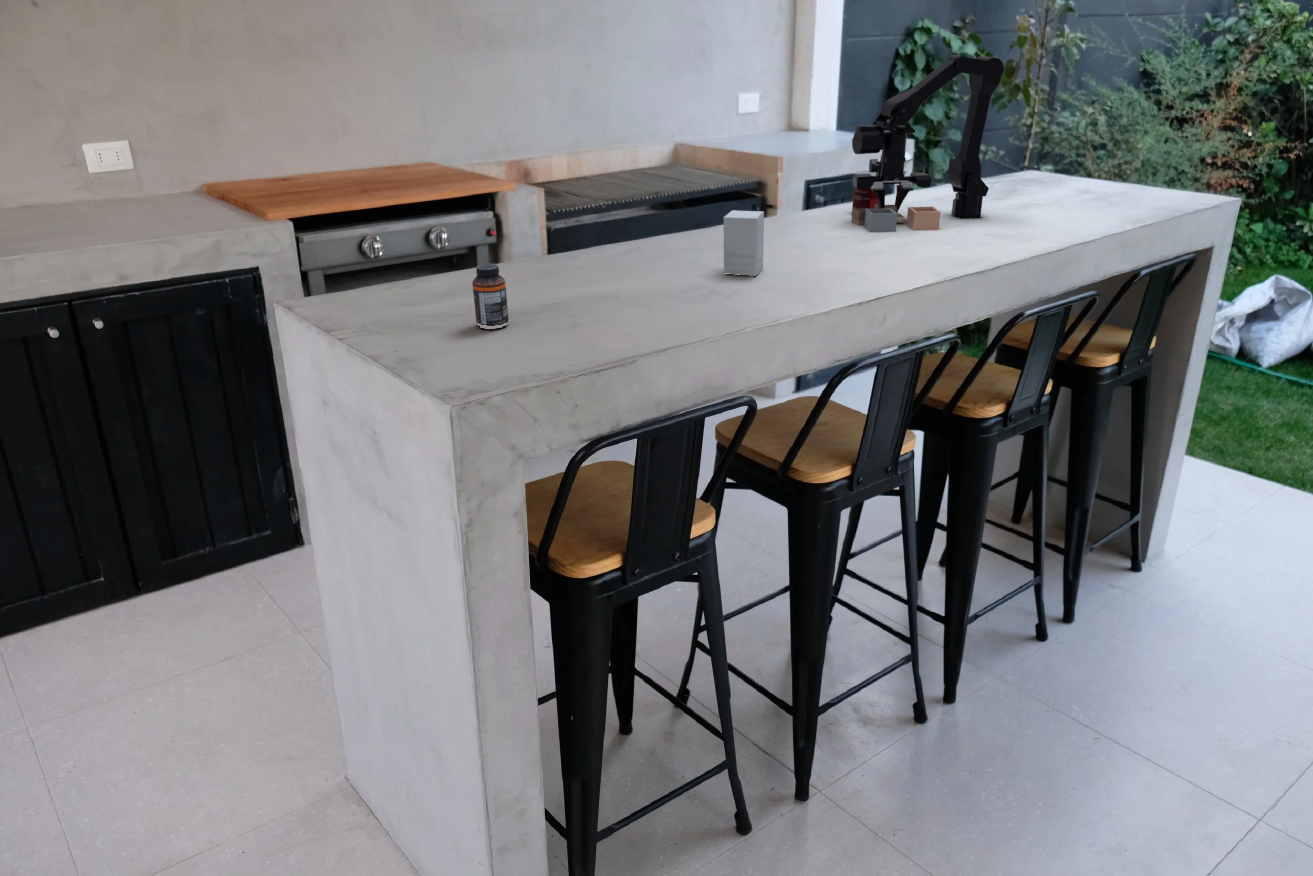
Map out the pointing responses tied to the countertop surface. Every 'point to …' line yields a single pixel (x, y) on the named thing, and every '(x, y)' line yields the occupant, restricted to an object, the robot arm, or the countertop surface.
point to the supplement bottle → (490, 296)
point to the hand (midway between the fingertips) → (888, 214)
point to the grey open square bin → (880, 220)
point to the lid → (899, 216)
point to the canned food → (865, 196)
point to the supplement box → (743, 242)
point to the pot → (923, 218)
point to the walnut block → (858, 216)
